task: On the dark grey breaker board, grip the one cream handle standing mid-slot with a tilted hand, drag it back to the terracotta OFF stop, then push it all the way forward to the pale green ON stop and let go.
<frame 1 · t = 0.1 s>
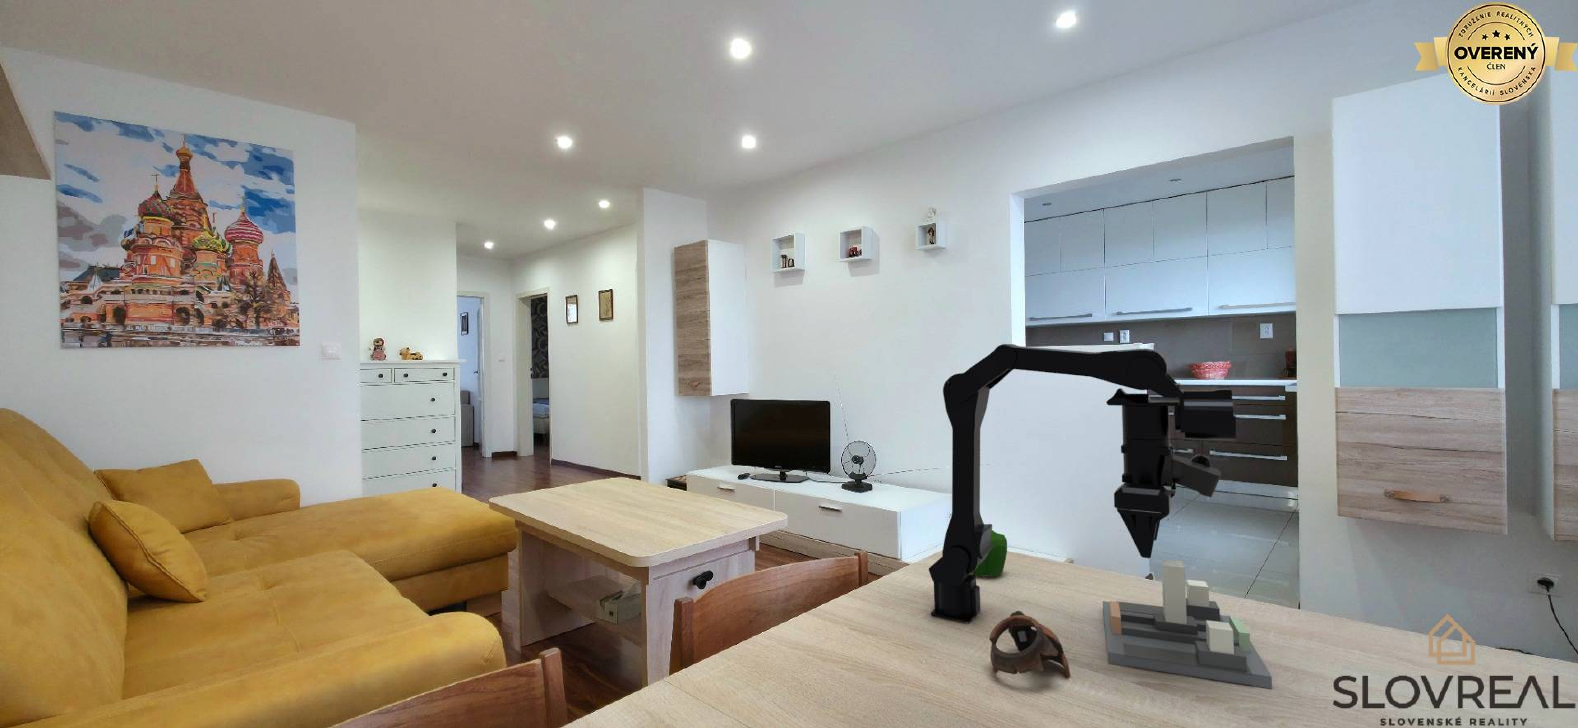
hand: (1149, 548, 86), 15 cm above the table, tool pointing down, fingers open, 9 cm apart
breaker handle: (1174, 598, 88), point 7 cm above the table, slide at 0.0 cm
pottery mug: (1028, 670, 83), on the table
breaker board: (1175, 643, 88), on the table
bell pepper: (985, 574, 120), on the table
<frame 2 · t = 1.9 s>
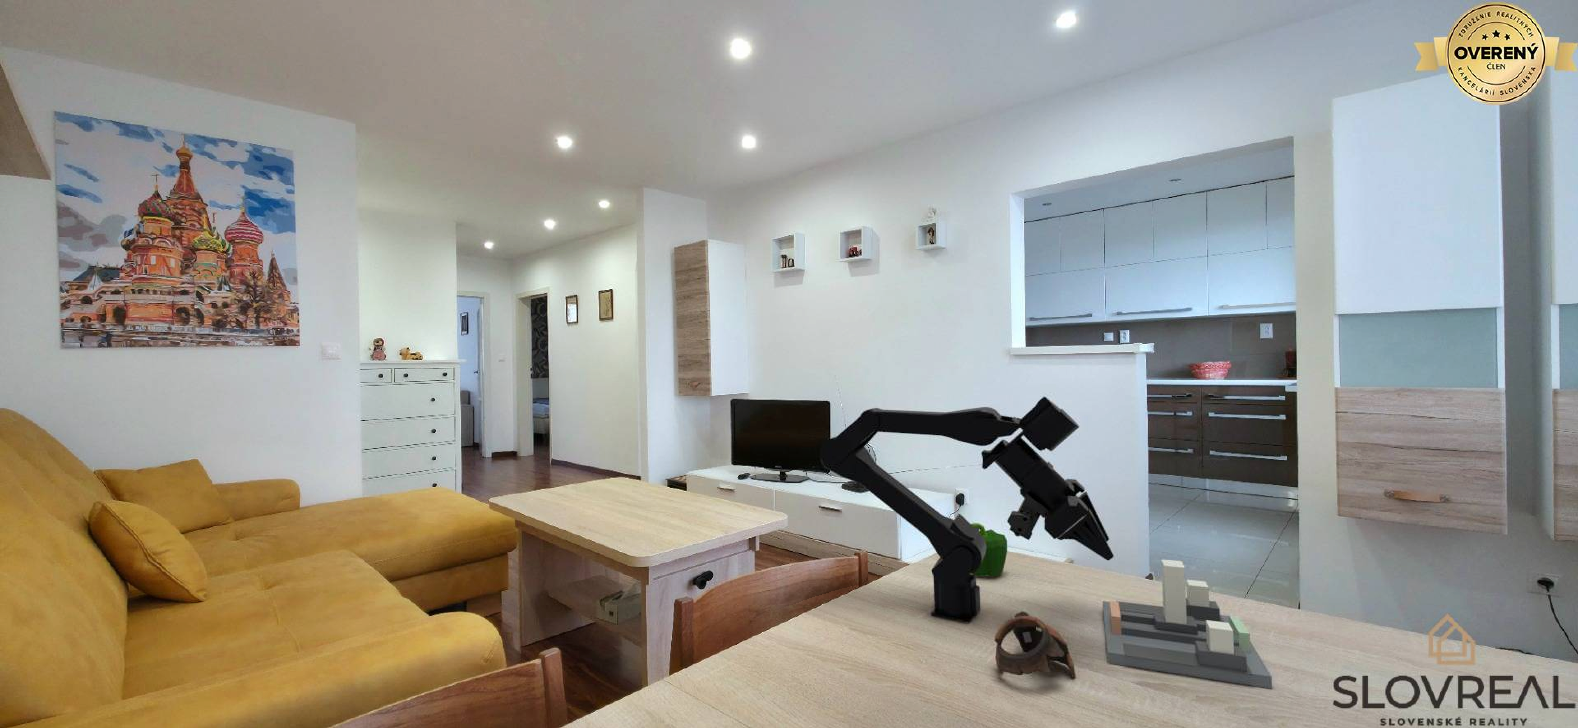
hand: (1108, 549, 92), 13 cm above the table, tool tilted 45°, fingers open, 9 cm apart
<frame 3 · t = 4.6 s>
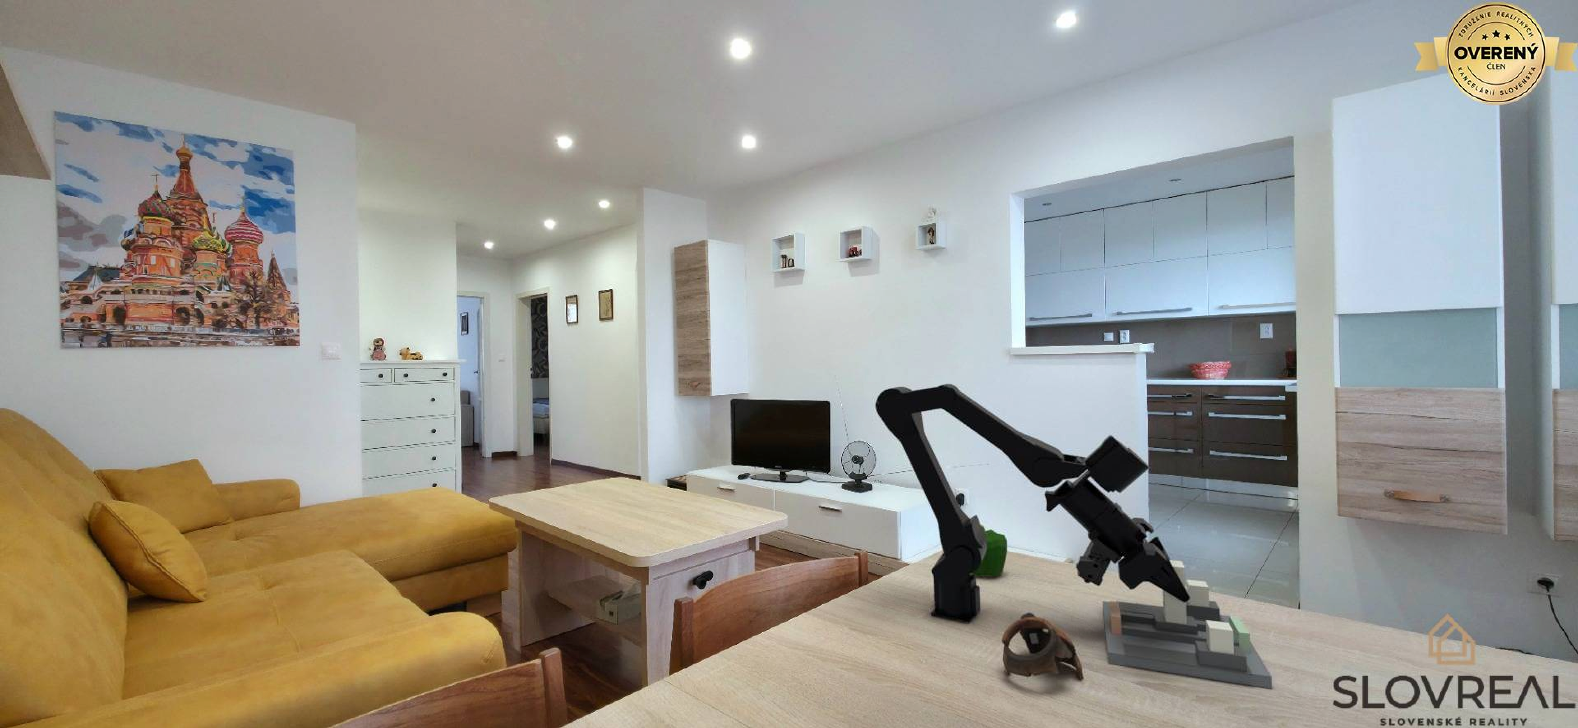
hand: (1185, 595, 88), 7 cm above the table, tool tilted 45°, fingers closed on breaker handle, 3 cm apart
breaker handle: (1174, 598, 88), point 7 cm above the table, slide at 0.0 cm, touching gripper
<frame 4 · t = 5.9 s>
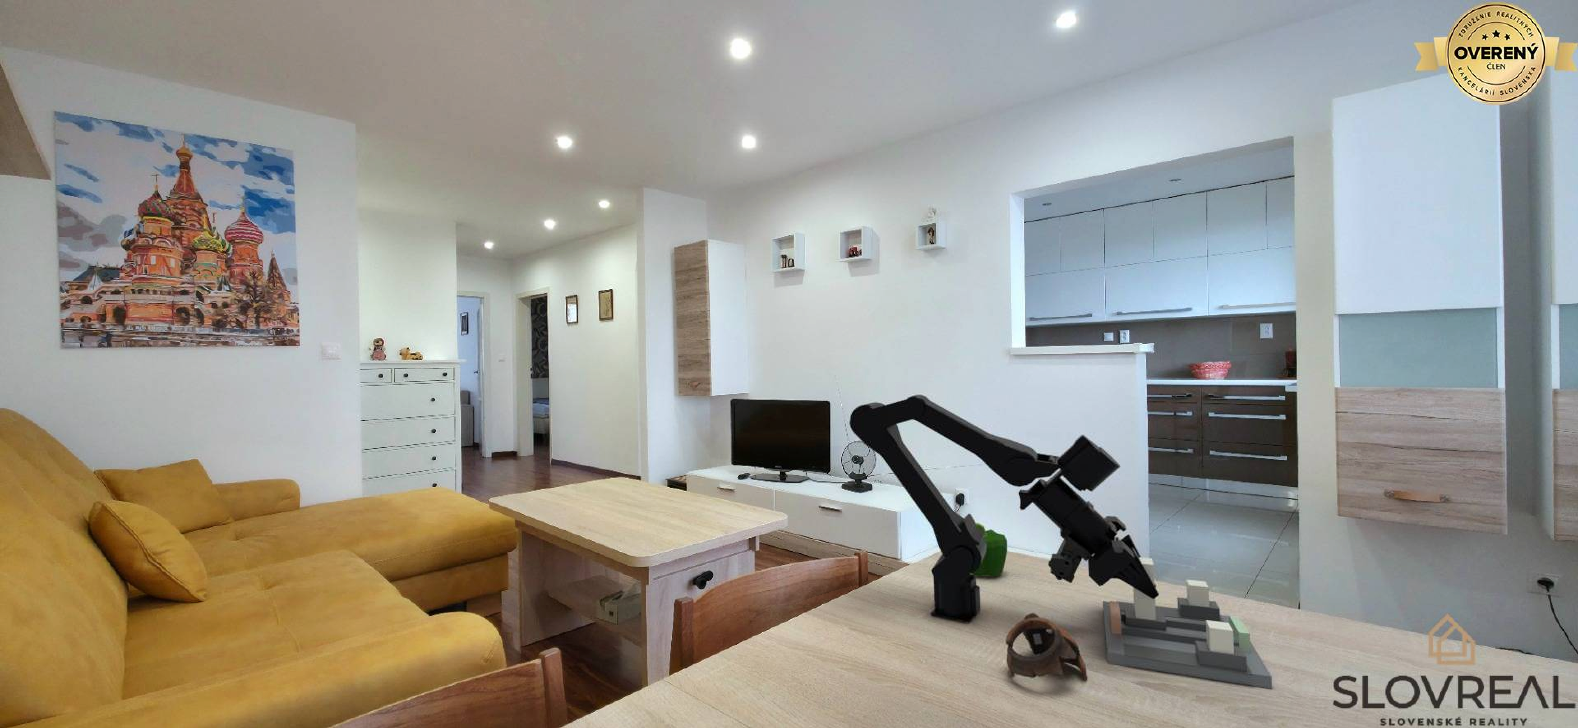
hand: (1154, 592, 89), 7 cm above the table, tool tilted 45°, fingers closed on breaker handle, 3 cm apart
breaker handle: (1143, 594, 90), point 7 cm above the table, slide at -3.8 cm, touching gripper
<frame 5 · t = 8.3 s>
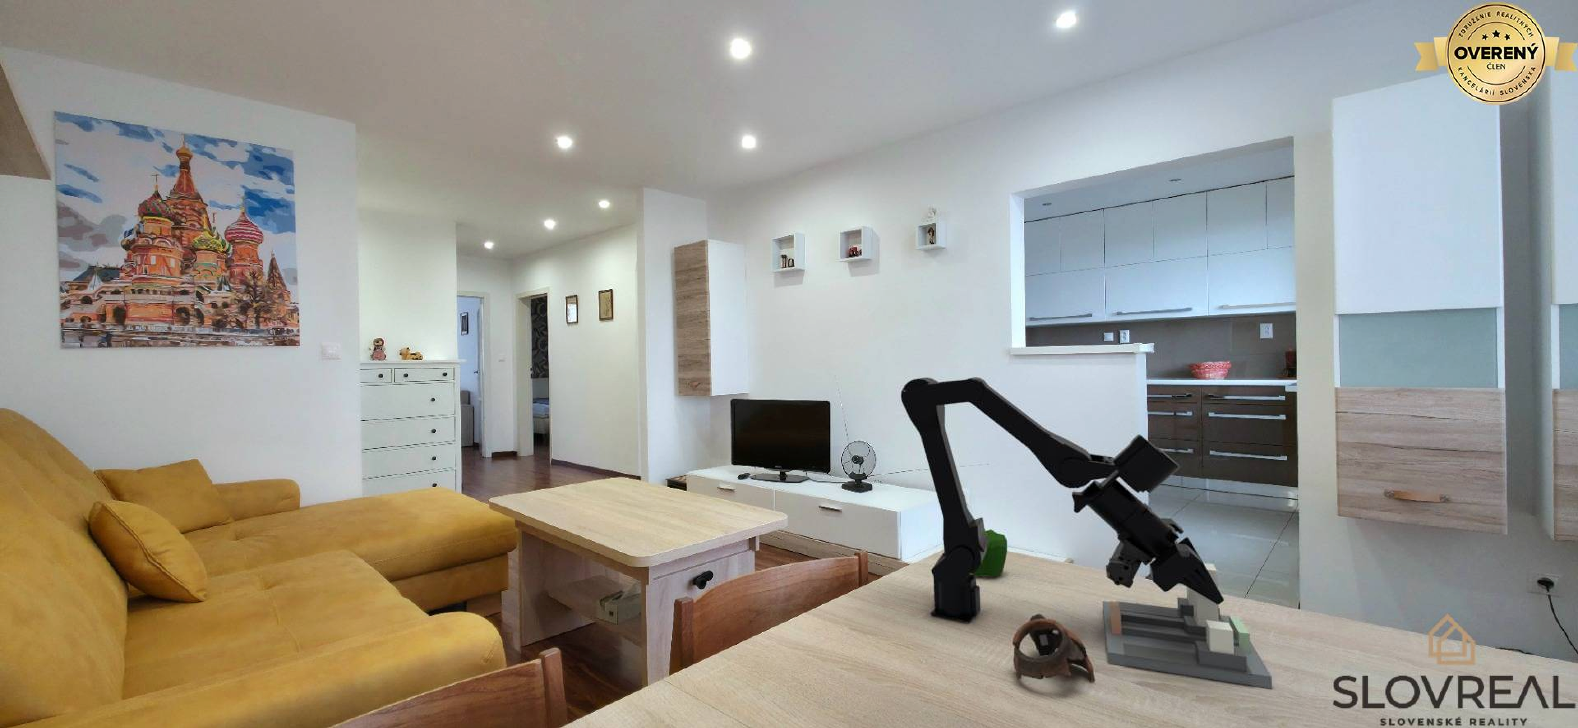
hand: (1218, 597, 86), 7 cm above the table, tool tilted 45°, fingers closed on breaker handle, 3 cm apart
breaker handle: (1205, 601, 87), point 7 cm above the table, slide at 3.8 cm, touching gripper
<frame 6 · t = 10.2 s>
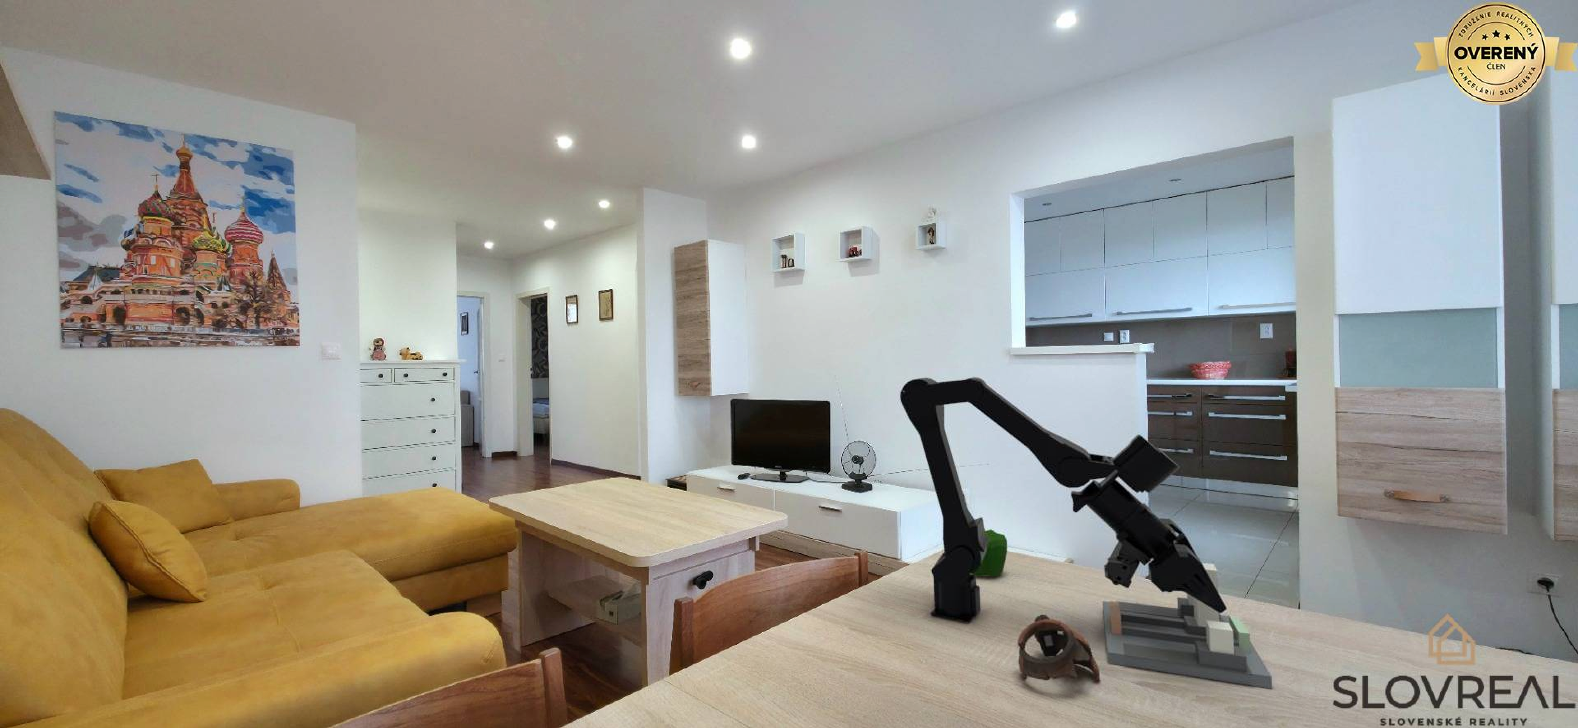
hand: (1216, 598, 86), 7 cm above the table, tool tilted 45°, fingers open, 9 cm apart
breaker handle: (1205, 601, 87), point 7 cm above the table, slide at 3.8 cm
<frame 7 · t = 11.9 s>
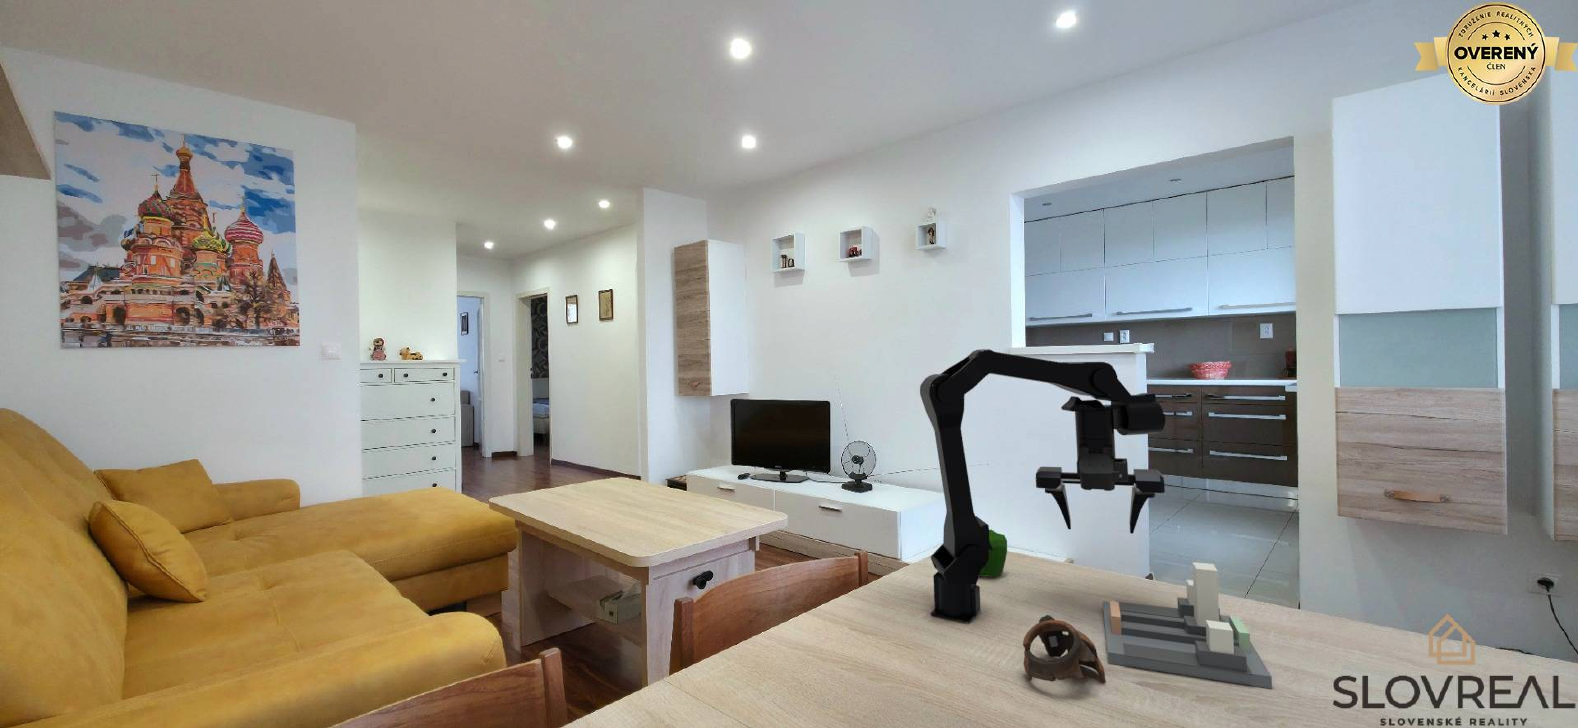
hand: (1099, 530, 102), 13 cm above the table, tool pointing down, fingers open, 9 cm apart
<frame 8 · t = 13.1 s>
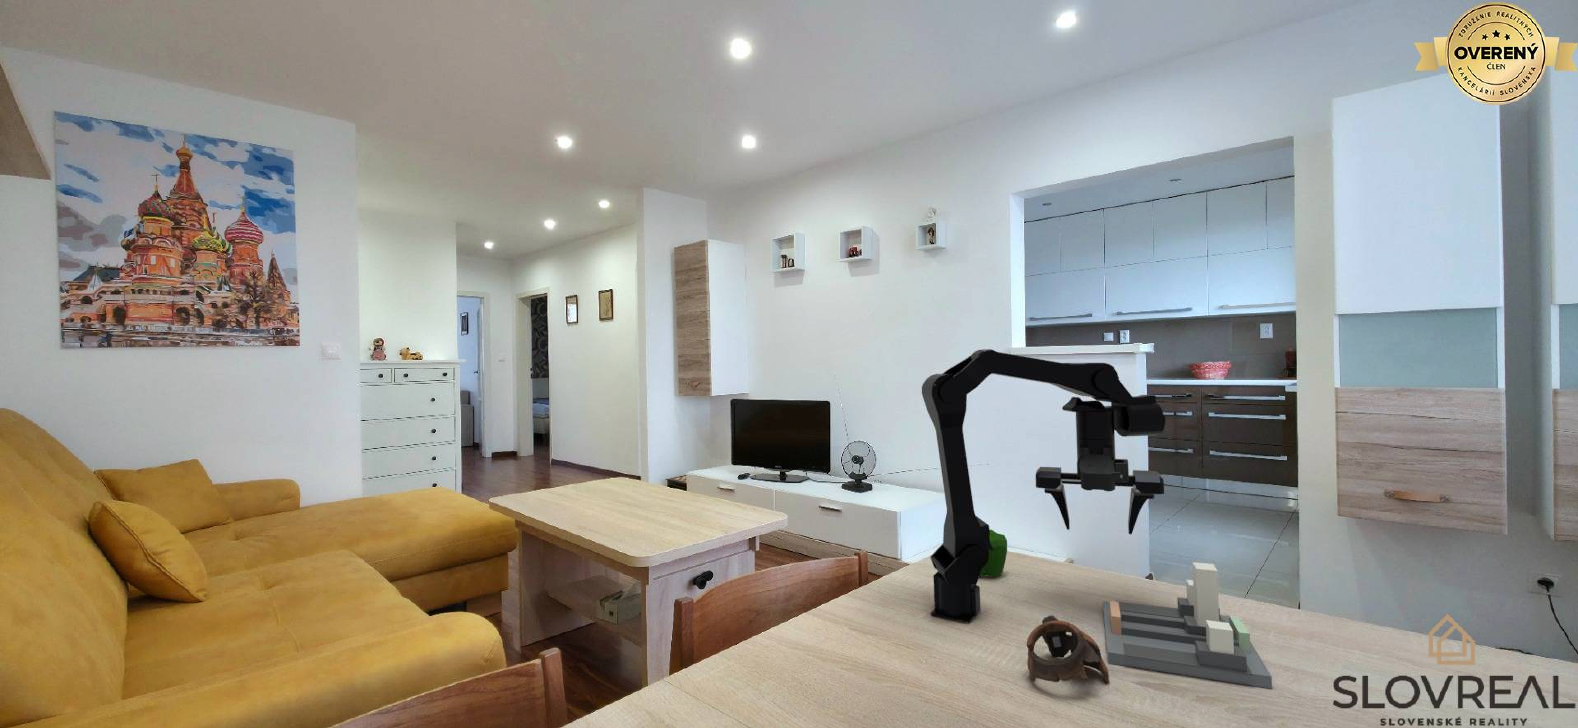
hand: (1098, 531, 102), 12 cm above the table, tool pointing down, fingers open, 9 cm apart
at the end: breaker handle slide at 3.8 cm; the gripper is holding nothing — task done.
